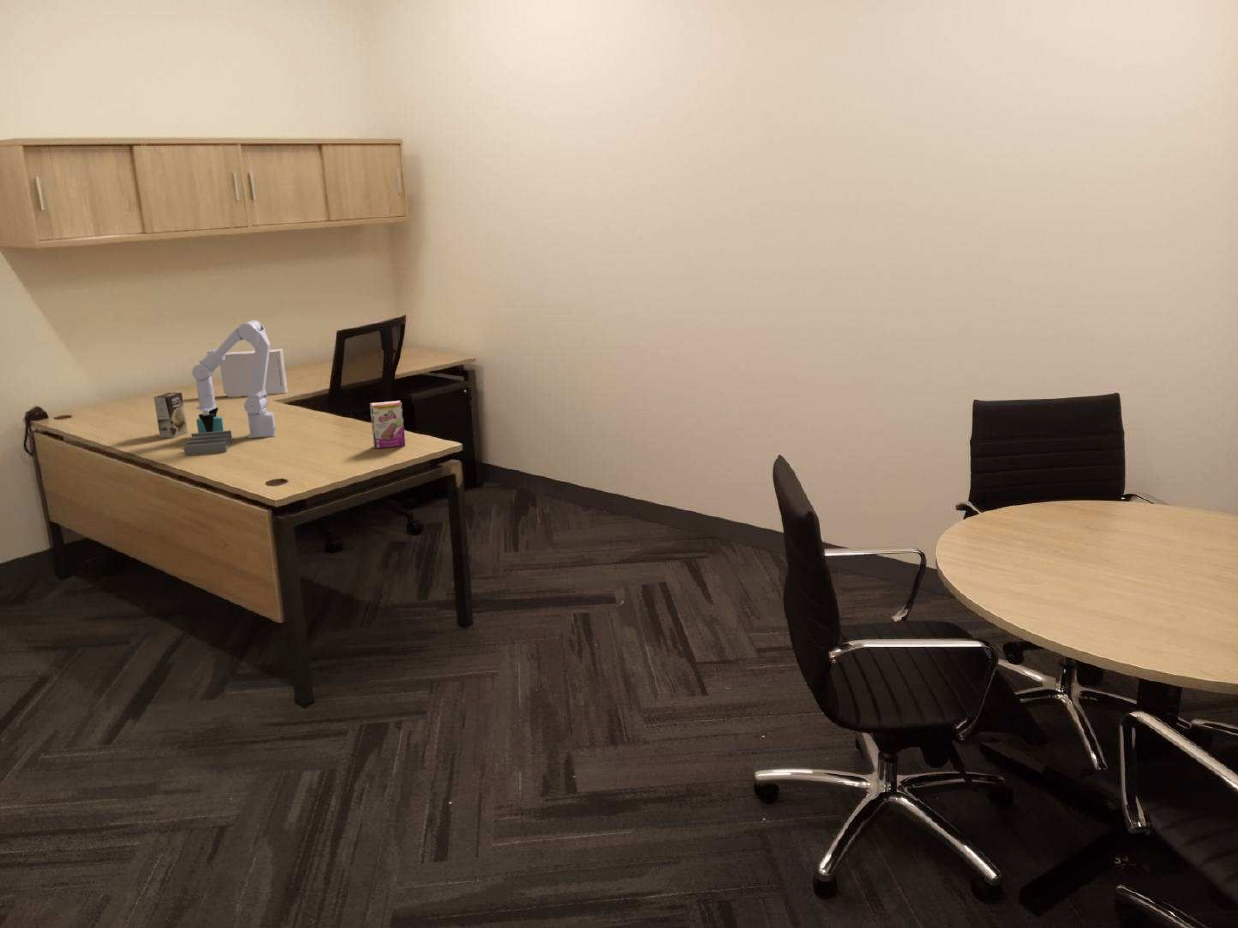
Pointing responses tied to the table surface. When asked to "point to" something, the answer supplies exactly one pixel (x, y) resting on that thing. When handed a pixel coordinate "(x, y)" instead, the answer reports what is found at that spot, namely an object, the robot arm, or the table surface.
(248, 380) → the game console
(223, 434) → the rack
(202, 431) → the tall teal block
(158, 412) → the coffee box
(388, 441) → the candy bar box
